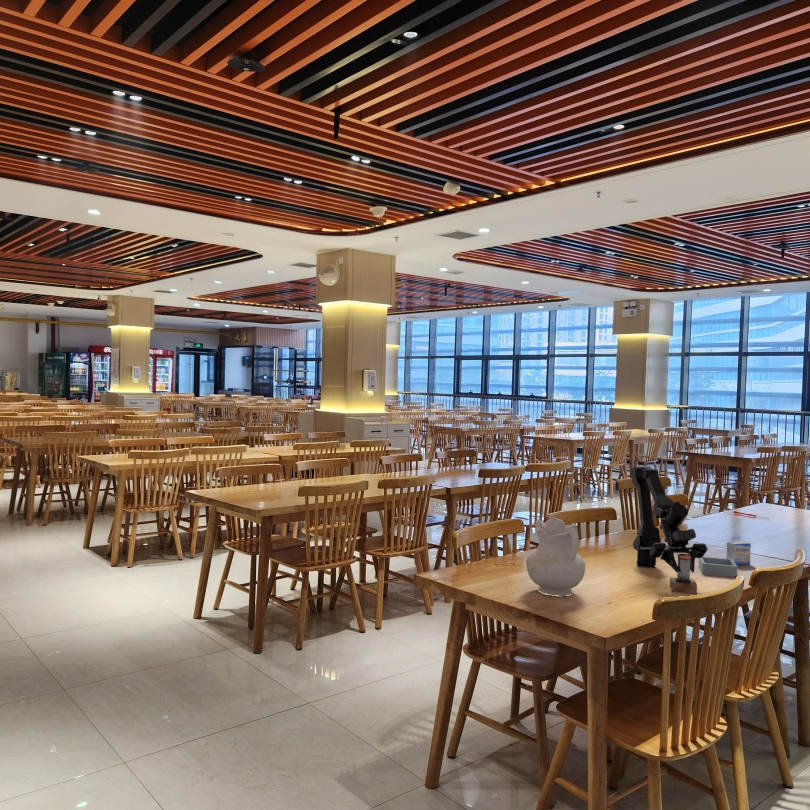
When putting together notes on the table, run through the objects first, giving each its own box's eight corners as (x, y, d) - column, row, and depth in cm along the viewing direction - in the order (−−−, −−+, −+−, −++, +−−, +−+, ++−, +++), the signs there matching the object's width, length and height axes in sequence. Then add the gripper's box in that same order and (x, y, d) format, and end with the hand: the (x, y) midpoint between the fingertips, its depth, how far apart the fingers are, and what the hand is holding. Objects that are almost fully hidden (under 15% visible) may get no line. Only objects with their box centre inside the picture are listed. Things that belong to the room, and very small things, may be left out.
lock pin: (677, 590, 241) (678, 556, 240) (675, 587, 245) (677, 553, 245) (690, 592, 240) (691, 557, 239) (688, 588, 244) (690, 554, 243)
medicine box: (733, 565, 278) (734, 544, 278) (725, 563, 283) (726, 541, 282) (750, 564, 281) (751, 543, 280) (742, 562, 285) (743, 540, 285)
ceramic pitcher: (601, 601, 230) (607, 525, 231) (558, 605, 219) (565, 525, 220) (553, 585, 248) (559, 514, 249) (512, 588, 238) (518, 514, 238)
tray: (702, 574, 264) (702, 563, 264) (698, 566, 276) (698, 556, 276) (736, 577, 261) (737, 566, 261) (731, 569, 272) (732, 559, 272)
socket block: (671, 591, 240) (671, 582, 239) (669, 585, 247) (670, 577, 247) (696, 594, 237) (697, 585, 237) (694, 587, 245) (694, 579, 245)
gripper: (654, 520, 245) (666, 559, 234) (706, 520, 246) (721, 559, 235) (644, 537, 253) (656, 576, 242) (694, 538, 254) (708, 576, 243)
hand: (685, 571), depth 241 cm, fingers open, 5 cm apart
